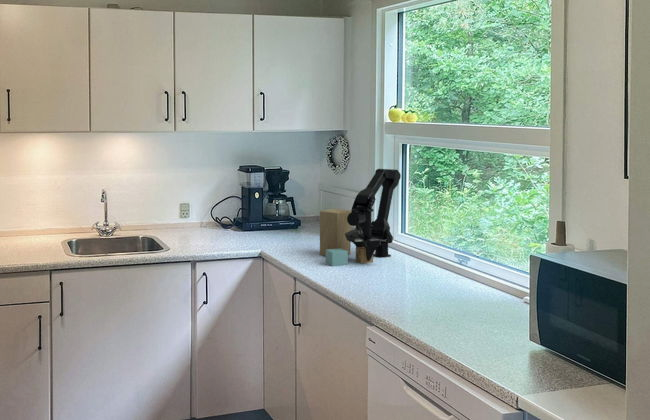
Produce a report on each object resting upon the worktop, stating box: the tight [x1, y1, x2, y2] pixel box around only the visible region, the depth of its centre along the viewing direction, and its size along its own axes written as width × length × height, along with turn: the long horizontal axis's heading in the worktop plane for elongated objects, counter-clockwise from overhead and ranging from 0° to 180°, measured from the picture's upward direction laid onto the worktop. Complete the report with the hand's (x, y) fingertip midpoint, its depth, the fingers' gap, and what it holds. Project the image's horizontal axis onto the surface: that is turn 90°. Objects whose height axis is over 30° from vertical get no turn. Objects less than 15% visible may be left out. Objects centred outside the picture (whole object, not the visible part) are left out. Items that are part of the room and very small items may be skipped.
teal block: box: [325, 248, 349, 267], centre depth 340 cm, size 7×7×6 cm
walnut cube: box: [355, 246, 374, 264], centre depth 345 cm, size 6×6×6 cm
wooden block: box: [319, 208, 352, 257], centre depth 360 cm, size 10×10×20 cm
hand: (364, 259), depth 346 cm, fingers open, 7 cm apart
